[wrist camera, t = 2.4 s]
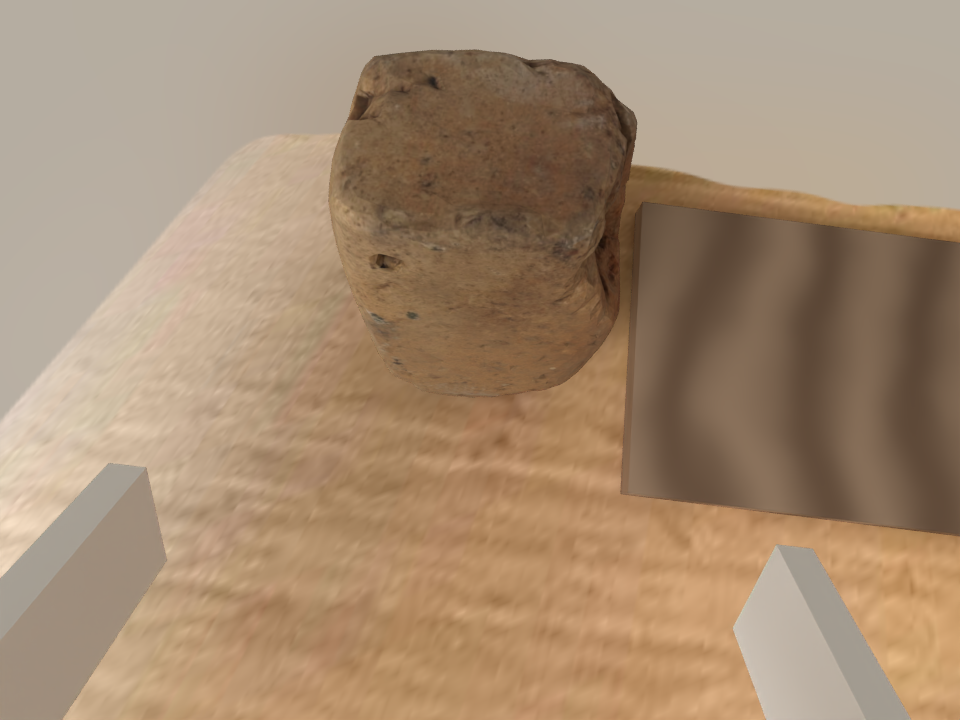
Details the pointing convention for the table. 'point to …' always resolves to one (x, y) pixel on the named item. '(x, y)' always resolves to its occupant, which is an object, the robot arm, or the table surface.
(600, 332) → the block
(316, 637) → the table surface
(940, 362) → the walnut board
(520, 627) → the table surface
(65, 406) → the table surface
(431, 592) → the table surface
